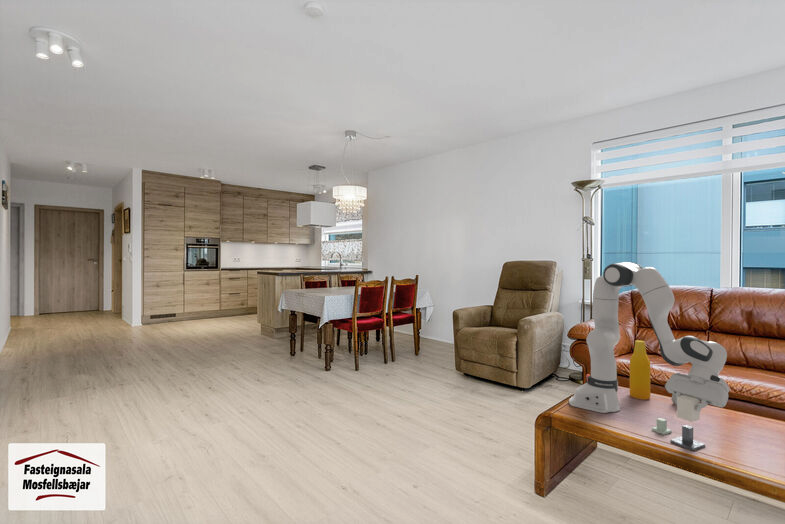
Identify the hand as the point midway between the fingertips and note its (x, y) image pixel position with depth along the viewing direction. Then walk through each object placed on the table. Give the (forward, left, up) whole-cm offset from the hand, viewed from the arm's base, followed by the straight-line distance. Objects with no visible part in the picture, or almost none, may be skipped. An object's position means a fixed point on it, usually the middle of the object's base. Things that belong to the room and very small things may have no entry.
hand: (687, 407), depth 155 cm
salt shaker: (+3, +49, -15) cm, 51 cm away
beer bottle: (-13, +53, -15) cm, 56 cm away
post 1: (-7, +10, -15) cm, 19 cm away
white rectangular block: (0, +1, -4) cm, 4 cm away
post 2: (0, +1, -15) cm, 15 cm away
